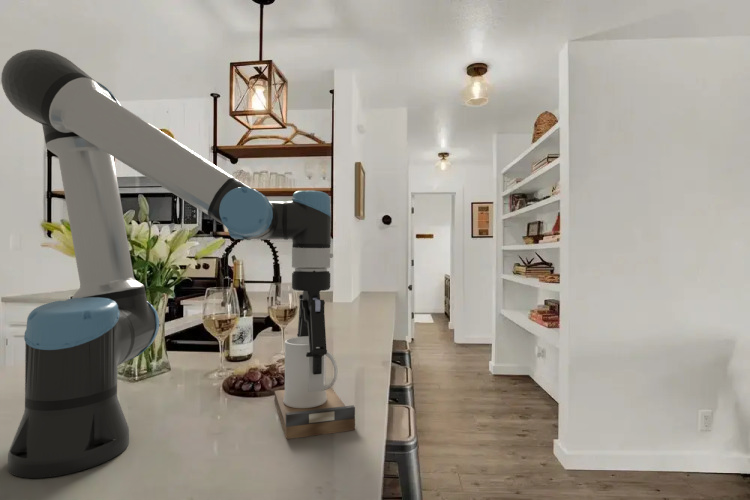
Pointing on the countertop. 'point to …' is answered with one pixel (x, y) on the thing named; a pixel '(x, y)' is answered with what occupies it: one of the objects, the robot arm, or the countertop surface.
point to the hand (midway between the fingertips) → (310, 382)
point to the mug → (302, 375)
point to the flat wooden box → (315, 417)
